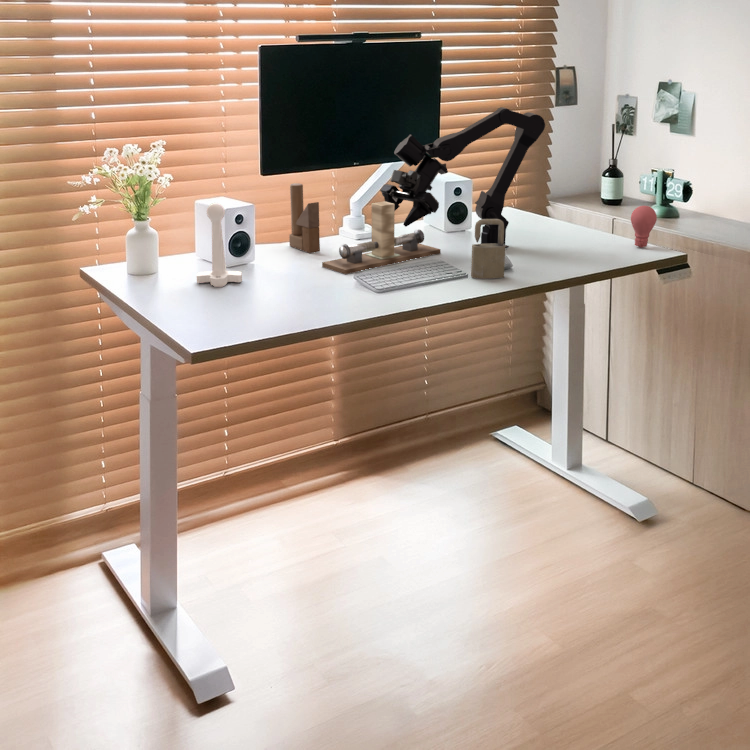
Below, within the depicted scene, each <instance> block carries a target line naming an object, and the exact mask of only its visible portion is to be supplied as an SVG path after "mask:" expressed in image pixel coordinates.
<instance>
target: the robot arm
mask: <svg viewBox="0 0 750 750" xmlns="http://www.w3.org/2000/svg"><path fill="white" fill-rule="evenodd" d="M504 125H510V126H513V127H516V128H515V131H514V138H513V143H512V145H511V146H510V149H509V151H508V153H507V154H506V157H505V158H504V160H503V162H502V164H501V167H500V169H499V171H498V173H497V174H496V177H495V179H494V181H493V183H492V185H491V186H490V188H489V189H488V190H487V191H486V192H485V191H483V190H481V191H480V193H479V197H478V198H477V200H476V201H475V203H474V204H475V205H476V206H475V207H474V208H475V213H476V215H477V217H478V218H479V219H480V220H481V219H500V220H501V221H503V223H504V240H503V244H504V245H505V246H506V247H505V249H508V248H510V246H509V245H506V239H507V238H506V236H507V235H506V234H507V232H506V231H507V229H508V228H507V227H508V225H509V221H508V220H507V218H505V217H504V215H503V214H502V213H503V211H504V208H505V207H504V205H505V201H506V200H505V199H506V195H507V193H508V190H509V188H510V186H511V184H512V182H513V180H514V178H515V177H516V174H517V173H518V170H519V168H520V166H521V164H522V162H523V161H524V158H525V156H526V154H527V152H528V150H529V148H531V147H532V145H533V144H535V143H536V141H537V140H539V138H540V137H541V136H542V133H544V131H545V128H546V122H545V119H544V118H543V117H542V115H539V114H536V113H534V112H529V111H528V112H525V113H521V112H517V111H515V110H514V111H513V110H512V109H511V110H510V109H509V108H506V107H503V106H502V107H499V108H497V109H496V110H495V111H493V112H491V113H489V114H488V115H486V116H485V117H483V118H481V119H479V120H477V121H476V122H474V123H472V124H470V125H469V126H466V127H465V128H463V129H462V130H459V131H457V132H453V133H449V134H446V135H444V136H441V137H439V138H436V140H434V141H433V142H432V143H427V144H425V145H423V144H422V143H420V142H419V141H418V140H417V138H416V137H415V136H413V135H412V134H409V135H408V136H407V137H406V138H404V139H403V140H402V141H401V142H399V143H398V144H397V146H396V148H395V150H394V152H393V153H394V155H395V156H397V157H398V158H399V159H400V160H401V161H403V163H405V164H406V165H407V166H408V167H412V166H414V167H416V166H417V167H416V168H415V170H411V169H410V170H409V171H408V172H407V171H402V170H397V169H393V171H392V174H391V178H390V179H389V180H390V182H391V183H395V184H398V187H397V186H396V185H394V184H388V183H386V184H383V185H382V187H381V188H380V190H379V191H380V192H381V195H382V196H383V200H384V201H385V202H389V203H393V204H395V211H397V210H398V208H400V205H401V204H402V203H403V201H407V202H412V208H411V209H410V211H409V212H408V214H407V216H406V218H405V219H404V222H403V226H404V227H408V226H410V225H412V224H413V223H415V222H417V221H418V220H420V219H422V218H424V217H426V216H429V215H431V214H432V213H433V214H436V213H437V211H438V209H439V207H440V205H439V204H440V202H439V201H438V199H437V198H436V197H435V196H434V195H433V194H432V192H428V191H432V190H433V186H432V184H433V181H434V180H435V179H436V177H437V176H438V174H439V175H444V174H447V173H449V172H448V167H447V163H441V162H440V161H439V160H438V159H440V160H441V161H443V162H449V161H452V160H453V159H455V158H456V157H457V156H459V155H461V153H462V152H463V151H464V150H465V149H466V148H467V147H468V146H469V145H471V144H472V143H474V142H476V141H478V140H479V139H480V138H483V137H484V136H486V135H488V134H489V133H491V132H493V131H495V130H496V129H498V128H500V127H501V126H504ZM437 158H438V159H437ZM400 189H401V190H400ZM481 227H482V229H481V232H480V244H489V243H496V244H498V225H482V226H481Z"/></svg>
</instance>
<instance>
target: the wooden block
mask: <svg viewBox="0 0 750 750" xmlns="http://www.w3.org/2000/svg"><path fill="white" fill-rule="evenodd" d="M289 190H290V191H289V193H290V195H289V196H290V220H291V221H290V222H291V223H290V224H291V233H289V237H288V238H289V247H292V248H295V249H298V250H301V251H303V252H304V253H308V254H314V252H315V253H319V252H320V251H321V250H320V249H321V245H320V244H321V243H320V239H321V238H320V205H319V204H320V203H319V202H318V201H315V202H310V203H307V204H306V206H305V207H304V185H303V183H300V182H296V183H295V182H294V183H290V185H289Z"/></svg>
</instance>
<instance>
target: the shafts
mask: <svg viewBox="0 0 750 750" xmlns="http://www.w3.org/2000/svg"><path fill="white" fill-rule="evenodd" d="M424 241H425V234H424V231H422V230H421V229H415V230H414V231H413V232H411V233H405V234H401V235H397V236H395V235H394V247H399V246H403V250H407V251H410V252H412V251H417V250H418V243H419V244H423V243H424ZM374 250H375V244H374V242H373V241H372V240H371V241H367V242H360V243H356V244H351V245H348V244H347V243H343V244H340V246H339V249H338V253H339V255H340V257H341V258H343V259H347V261H348V262H351V263H354V264H356V263H361V262H362V254H365V253H370V252H372V251H374Z"/></svg>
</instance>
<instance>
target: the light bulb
mask: <svg viewBox="0 0 750 750" xmlns="http://www.w3.org/2000/svg"><path fill="white" fill-rule="evenodd" d="M657 216H658V215H657V213H656V211H655V209H654V208H653V207H651V206H648V205H640V206H639V205H638V206H637V207H636V208H635V209H634V210H633V211H632V213H631V216H630V223H631V225H632V228H633V230H634V231H633V232H634V237H635V238H634V244H633V245H634V246H636V247H638V248H641V249H642V248H644V247H645V248H646V247H647V246H648V242H649V237H650V233H651V232H652V230H653V228H654V227H655V225H656V223H657V220H658V218H657Z"/></svg>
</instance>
